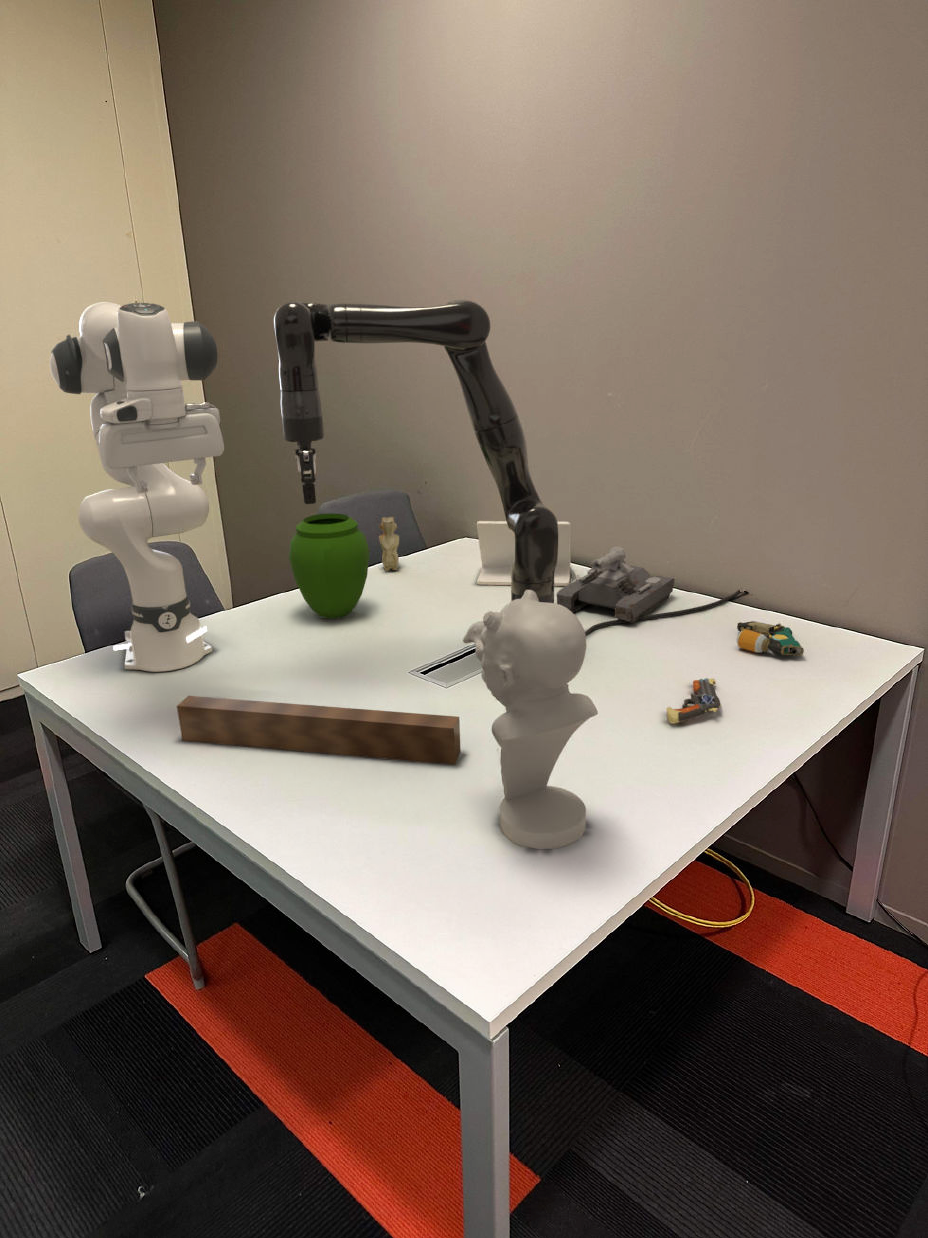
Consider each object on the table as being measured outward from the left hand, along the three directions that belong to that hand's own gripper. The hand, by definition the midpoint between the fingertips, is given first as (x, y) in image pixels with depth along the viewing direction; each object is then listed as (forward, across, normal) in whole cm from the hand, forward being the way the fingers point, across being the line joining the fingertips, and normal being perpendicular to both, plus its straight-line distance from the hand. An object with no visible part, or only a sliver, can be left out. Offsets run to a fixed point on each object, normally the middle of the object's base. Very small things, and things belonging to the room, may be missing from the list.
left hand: (169, 488), depth 147 cm
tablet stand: (+44, -102, -28) cm, 114 cm away
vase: (+44, -46, -35) cm, 72 cm away
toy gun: (+44, -75, +54) cm, 103 cm away
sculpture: (+44, -76, -58) cm, 105 cm away
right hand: (+6, -27, -3) cm, 28 cm away
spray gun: (+44, -111, +45) cm, 128 cm away
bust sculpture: (+44, -26, +63) cm, 81 cm away
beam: (+44, -12, +24) cm, 52 cm away
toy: (+44, -104, +5) cm, 113 cm away
